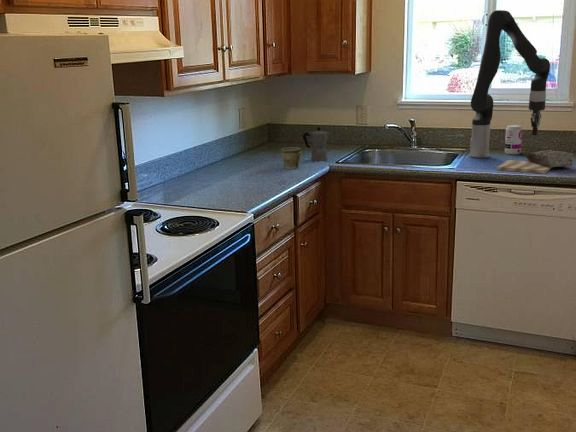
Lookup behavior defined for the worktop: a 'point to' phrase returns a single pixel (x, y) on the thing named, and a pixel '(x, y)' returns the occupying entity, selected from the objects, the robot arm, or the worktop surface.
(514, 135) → the supplement can
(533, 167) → the cutting board
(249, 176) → the worktop surface
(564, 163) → the stone block
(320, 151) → the coffeepot
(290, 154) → the ceramic cup
